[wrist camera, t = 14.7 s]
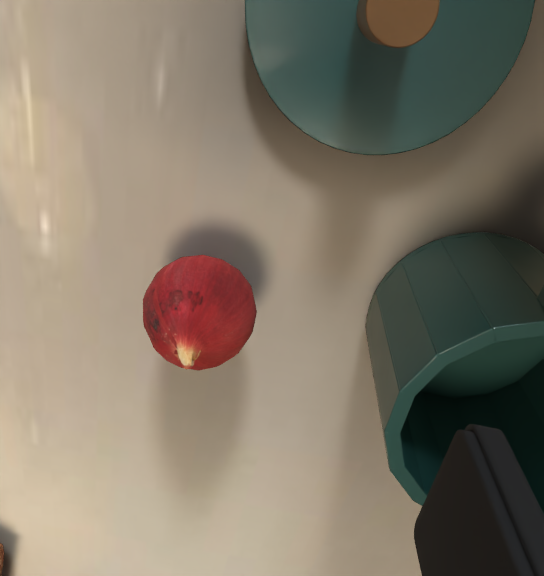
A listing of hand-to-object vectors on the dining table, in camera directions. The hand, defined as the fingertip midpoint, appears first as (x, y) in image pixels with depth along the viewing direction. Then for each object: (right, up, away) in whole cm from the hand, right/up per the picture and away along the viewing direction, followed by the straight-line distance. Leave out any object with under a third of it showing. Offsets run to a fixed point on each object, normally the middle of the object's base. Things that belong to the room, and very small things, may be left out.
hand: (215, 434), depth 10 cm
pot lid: (+6, +15, +12) cm, 21 cm away
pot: (+12, +1, +20) cm, 24 cm away
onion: (-2, +3, +20) cm, 20 cm away
